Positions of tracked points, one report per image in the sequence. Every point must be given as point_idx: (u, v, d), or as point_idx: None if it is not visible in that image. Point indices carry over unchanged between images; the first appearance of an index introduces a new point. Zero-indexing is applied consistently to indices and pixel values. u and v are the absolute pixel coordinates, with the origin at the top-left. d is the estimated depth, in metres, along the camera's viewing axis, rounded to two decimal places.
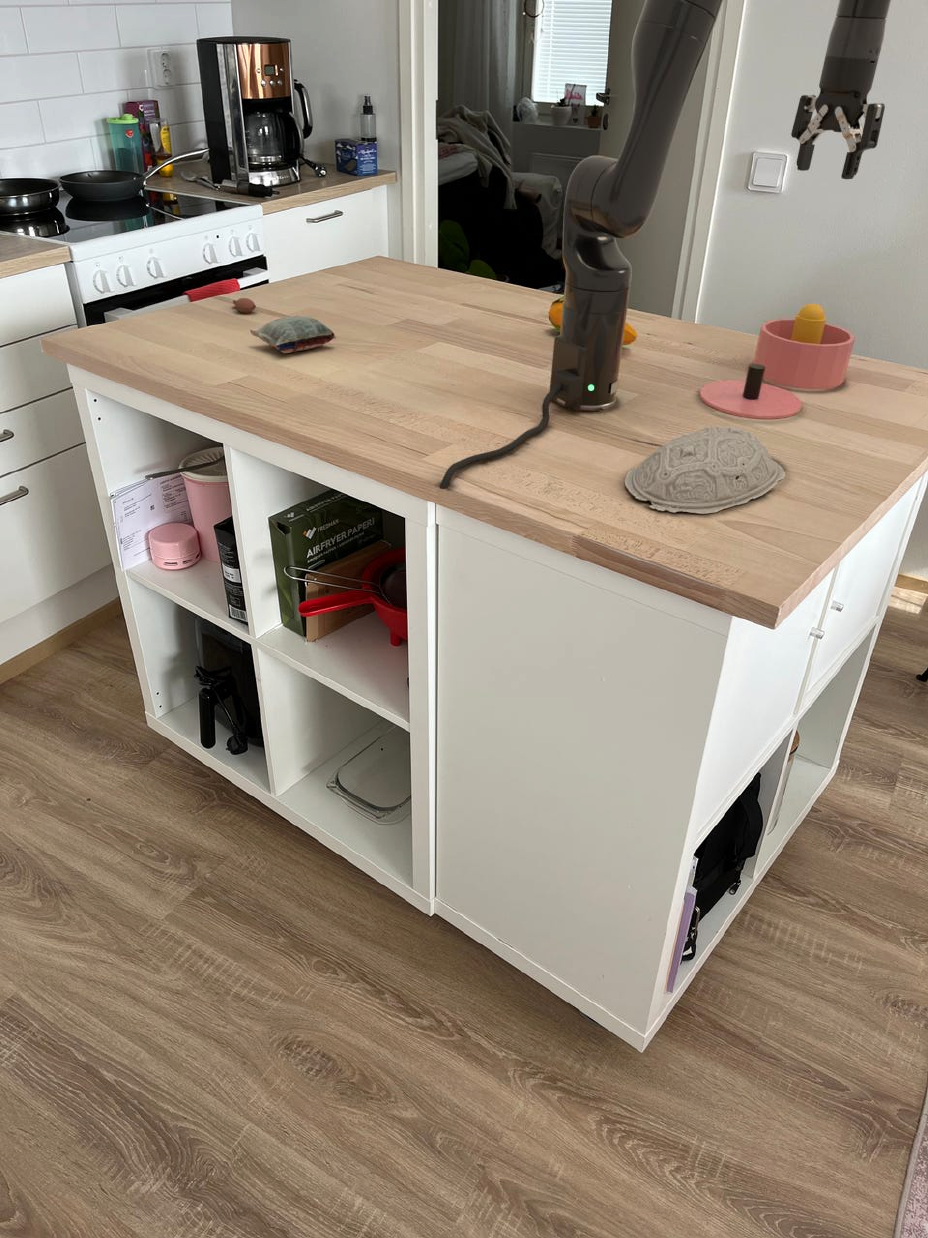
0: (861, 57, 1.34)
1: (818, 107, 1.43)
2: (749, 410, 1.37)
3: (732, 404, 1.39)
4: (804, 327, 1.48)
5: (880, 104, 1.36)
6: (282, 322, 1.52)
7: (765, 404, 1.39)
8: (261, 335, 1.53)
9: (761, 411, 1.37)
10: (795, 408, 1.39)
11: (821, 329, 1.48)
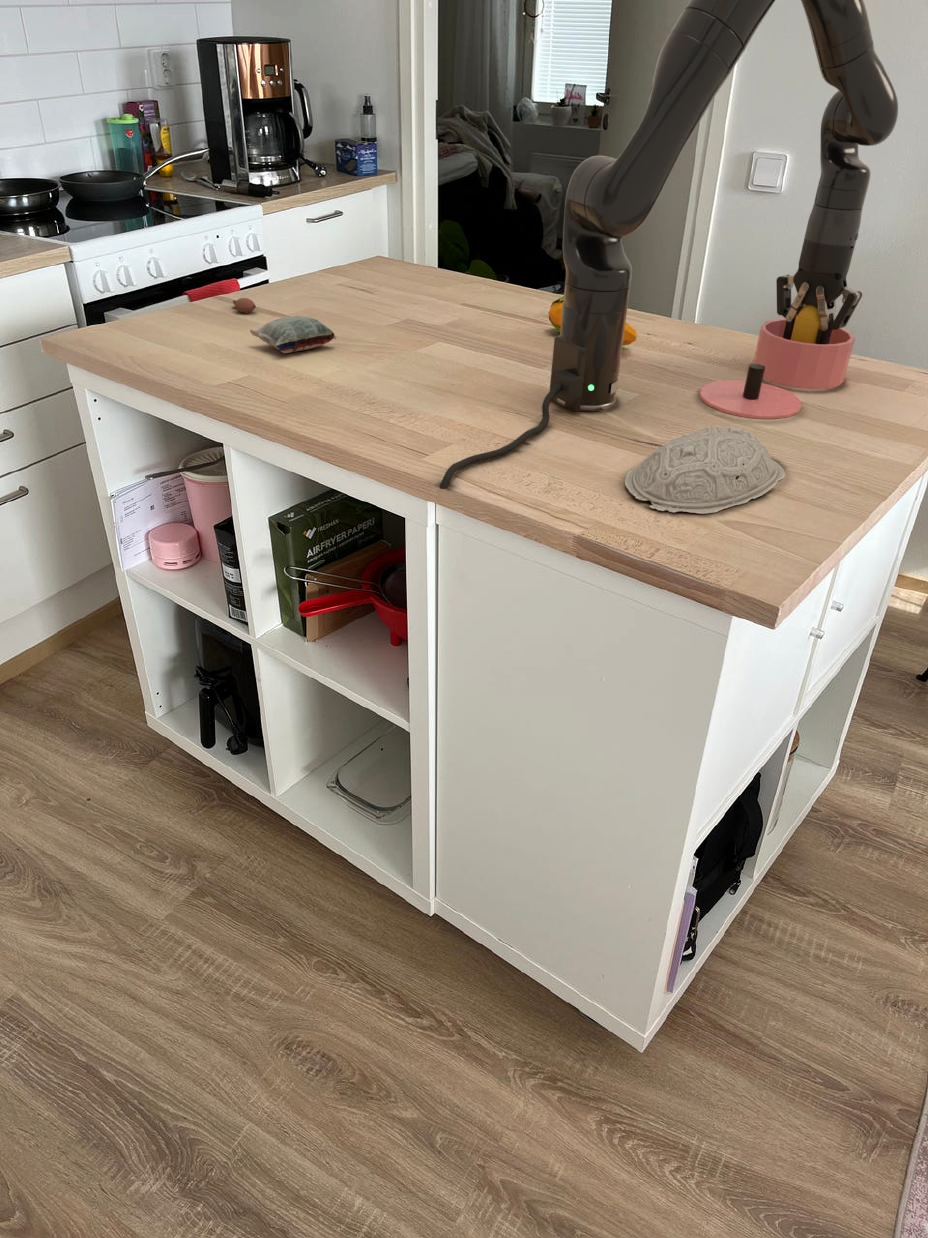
0: (842, 244, 1.39)
1: (797, 283, 1.47)
2: (749, 410, 1.37)
3: (732, 404, 1.39)
4: (803, 327, 1.48)
5: (859, 294, 1.42)
6: (282, 322, 1.52)
7: (765, 404, 1.39)
8: (261, 335, 1.53)
9: (761, 411, 1.37)
10: (795, 408, 1.39)
11: None
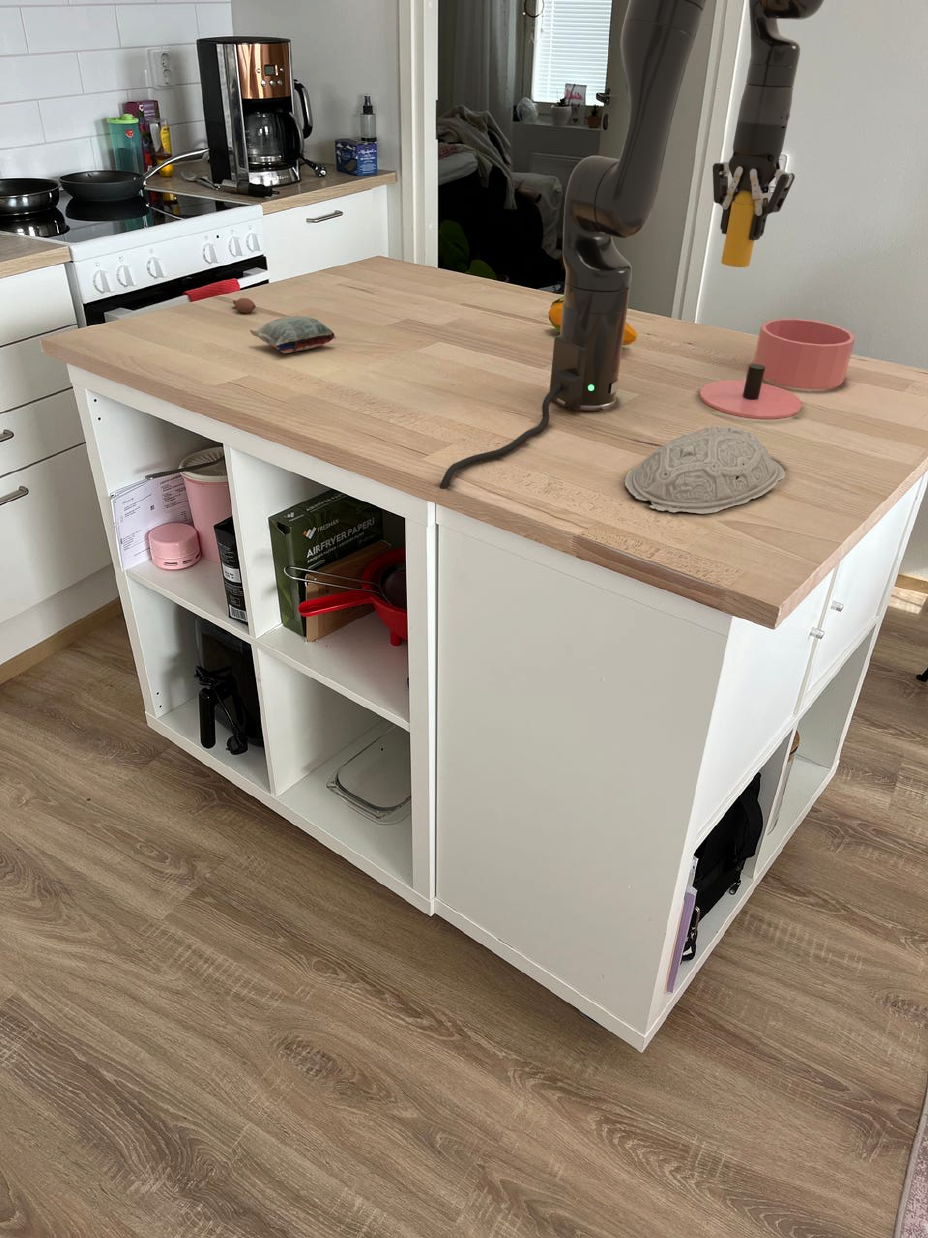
0: (773, 123, 1.40)
1: (732, 168, 1.48)
2: (749, 410, 1.37)
3: (732, 404, 1.39)
4: (739, 212, 1.49)
5: (791, 175, 1.43)
6: (281, 322, 1.52)
7: (765, 404, 1.39)
8: (261, 335, 1.53)
9: (761, 411, 1.37)
10: (795, 408, 1.39)
11: None
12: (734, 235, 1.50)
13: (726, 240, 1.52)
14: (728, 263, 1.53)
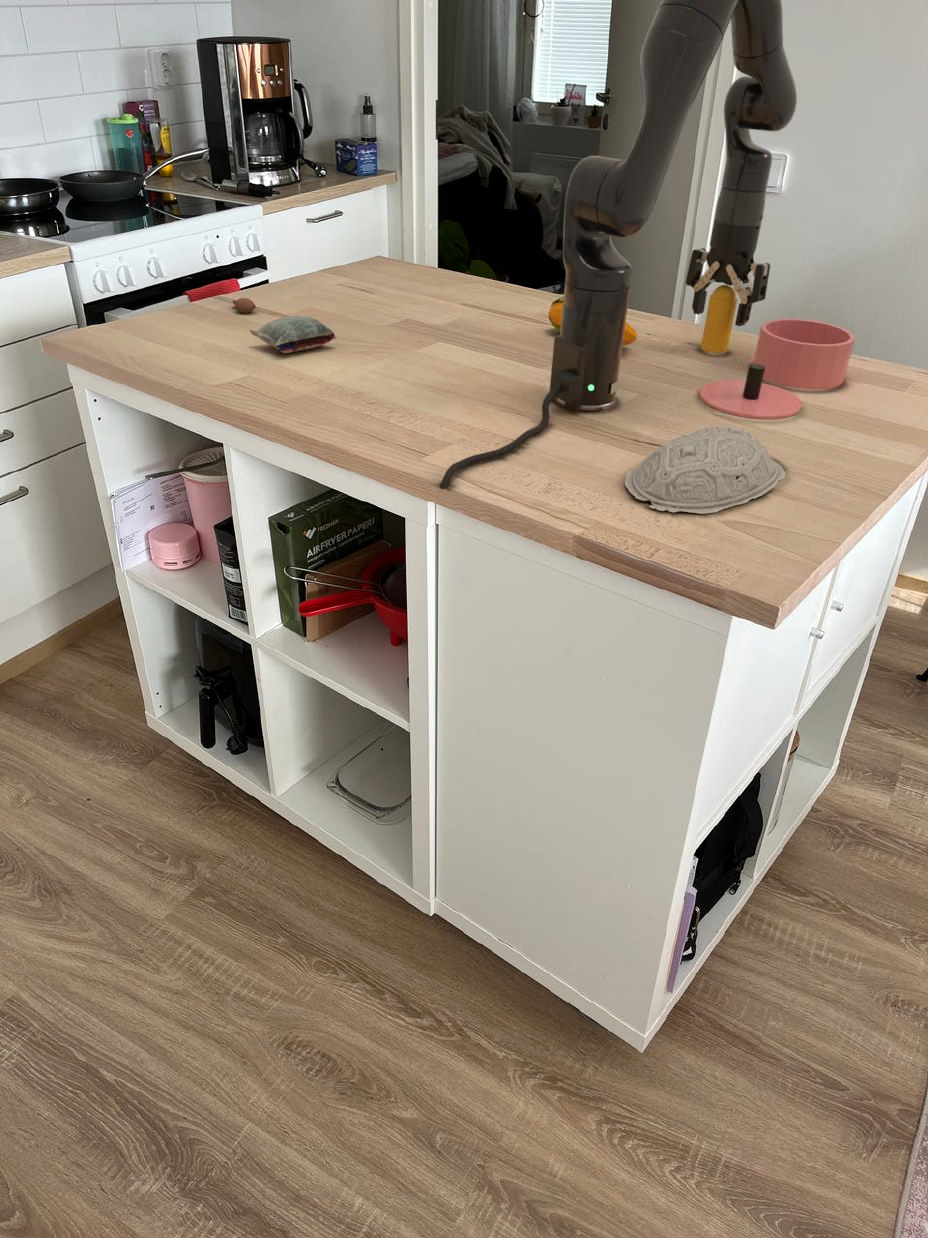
0: (747, 225, 1.49)
1: (710, 262, 1.57)
2: (749, 410, 1.37)
3: (732, 404, 1.39)
4: (716, 307, 1.58)
5: (766, 264, 1.51)
6: (282, 322, 1.52)
7: (765, 404, 1.39)
8: (261, 335, 1.53)
9: (761, 411, 1.37)
10: (795, 408, 1.39)
11: (733, 309, 1.58)
12: (712, 327, 1.59)
13: (704, 331, 1.61)
14: None
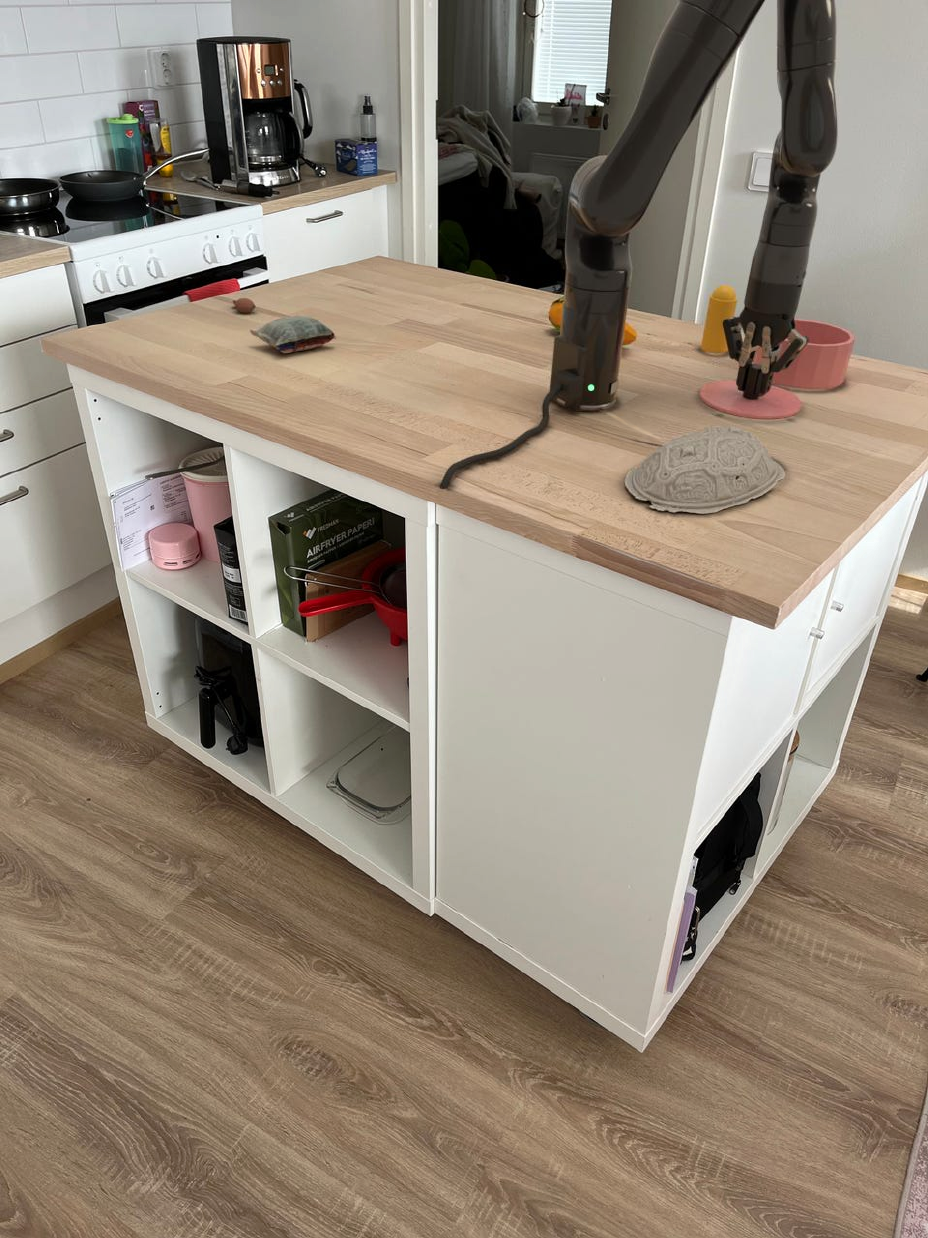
0: (789, 283, 1.29)
1: (743, 322, 1.37)
2: (749, 410, 1.37)
3: (732, 404, 1.39)
4: (716, 307, 1.58)
5: (805, 340, 1.33)
6: (281, 322, 1.52)
7: (765, 404, 1.39)
8: (261, 335, 1.53)
9: (761, 411, 1.37)
10: (795, 408, 1.39)
11: (733, 309, 1.58)
12: (712, 327, 1.59)
13: (704, 331, 1.61)
14: None
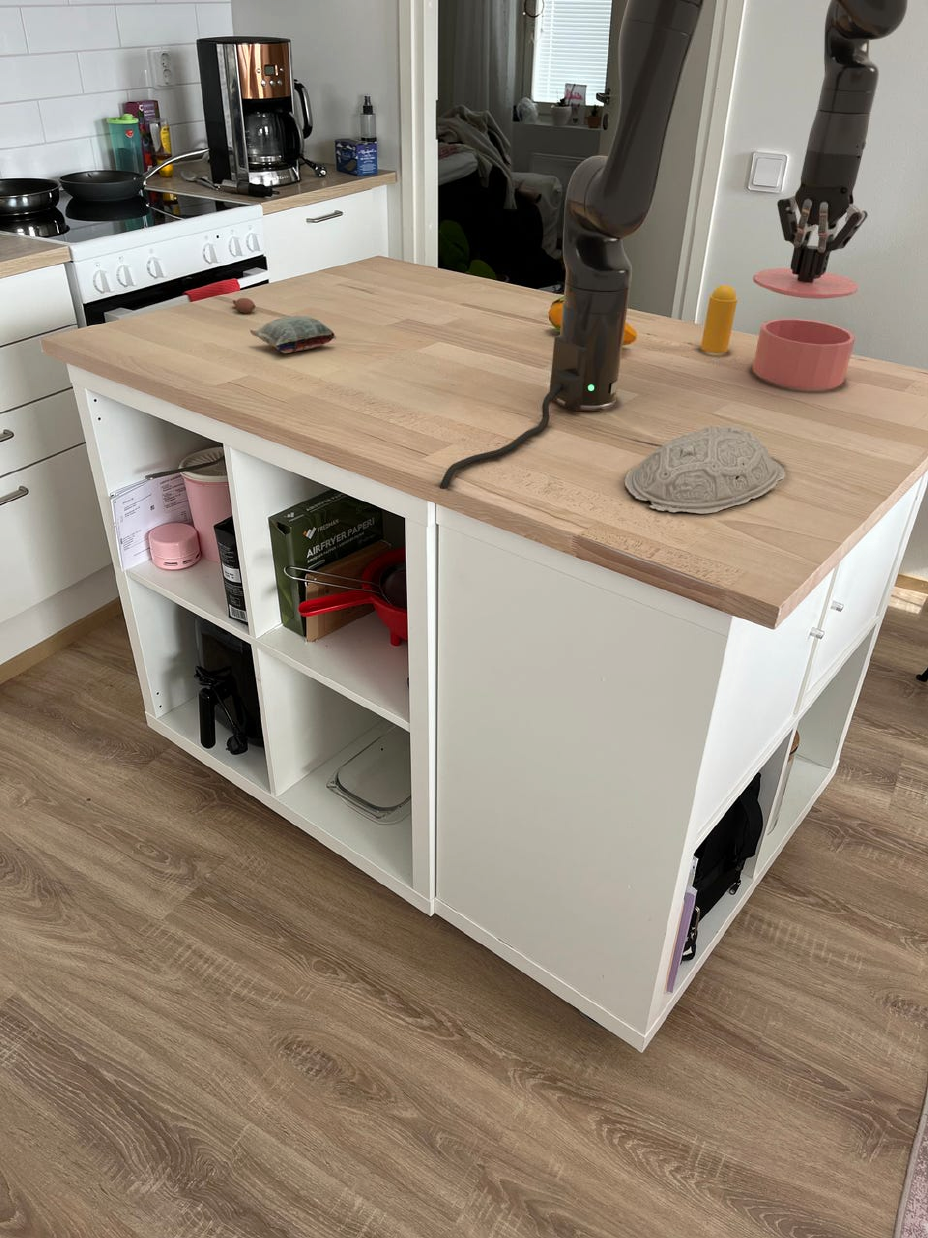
0: (848, 153, 1.27)
1: (799, 200, 1.35)
2: (805, 290, 1.35)
3: (787, 285, 1.37)
4: (716, 307, 1.58)
5: (864, 214, 1.31)
6: (281, 322, 1.52)
7: (820, 286, 1.38)
8: (261, 335, 1.53)
9: (818, 290, 1.35)
10: (852, 289, 1.37)
11: (733, 309, 1.58)
12: (712, 327, 1.59)
13: (704, 331, 1.61)
14: None
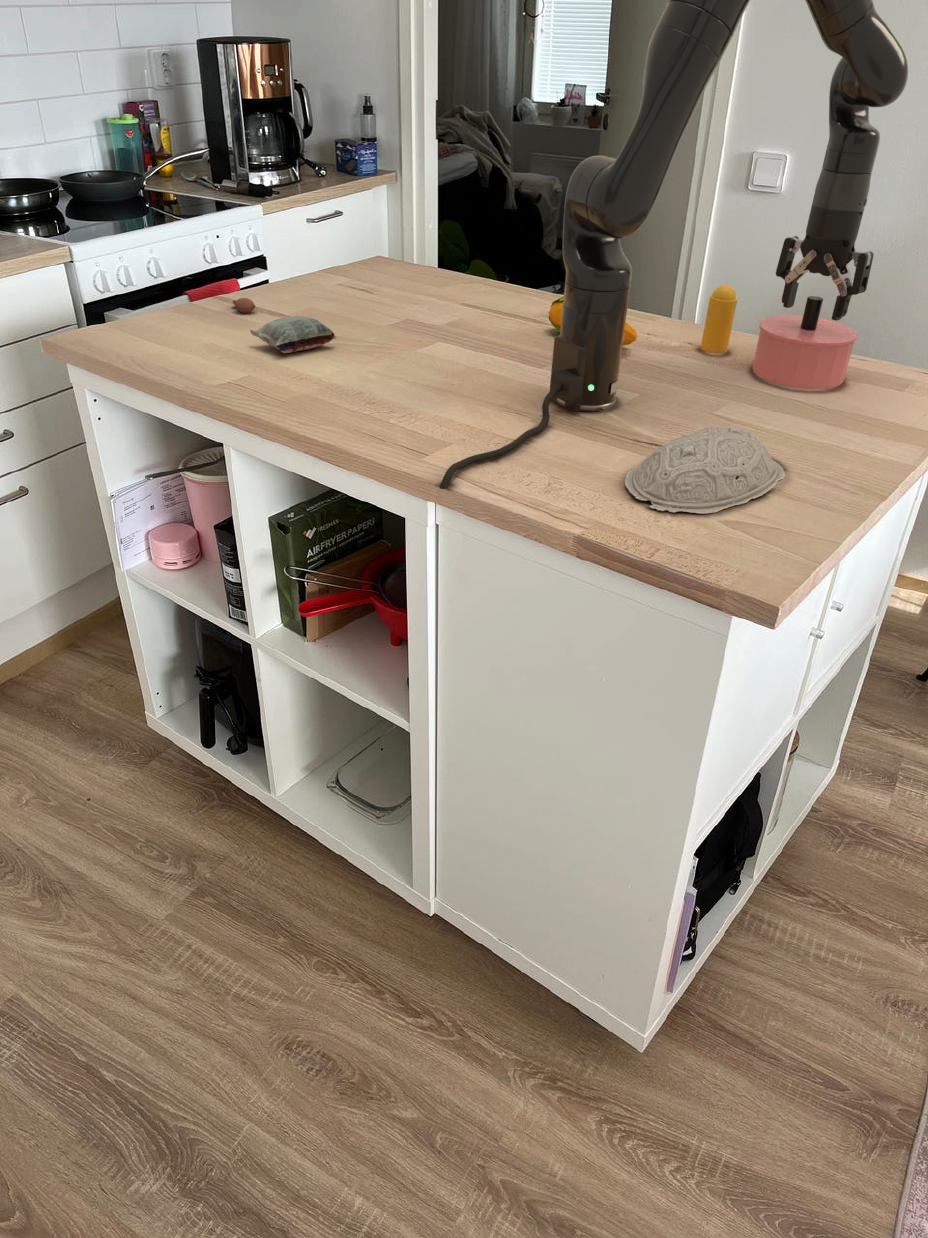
0: (851, 210, 1.36)
1: (804, 251, 1.44)
2: (809, 338, 1.45)
3: (791, 333, 1.47)
4: (716, 307, 1.58)
5: (869, 253, 1.39)
6: (281, 322, 1.52)
7: (823, 334, 1.47)
8: (261, 335, 1.53)
9: (820, 339, 1.45)
10: (852, 337, 1.46)
11: (733, 309, 1.58)
12: (712, 327, 1.59)
13: (704, 331, 1.61)
14: None
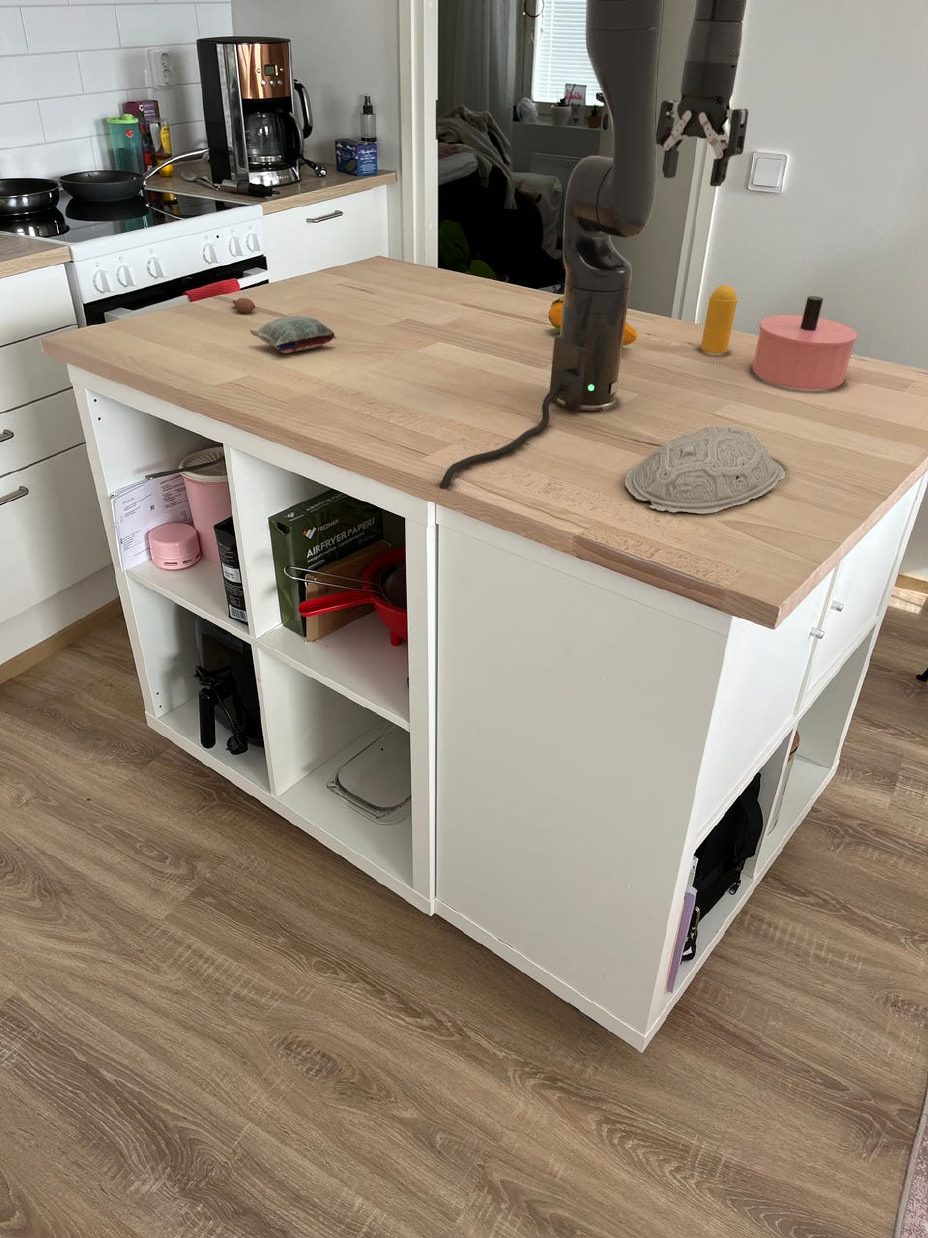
0: (722, 62, 1.30)
1: (681, 113, 1.38)
2: (809, 338, 1.45)
3: (791, 333, 1.47)
4: (716, 307, 1.58)
5: (744, 109, 1.33)
6: (281, 322, 1.52)
7: (823, 334, 1.47)
8: (261, 335, 1.53)
9: (820, 339, 1.45)
10: (852, 337, 1.46)
11: (733, 309, 1.58)
12: (712, 327, 1.59)
13: (704, 331, 1.61)
14: None
